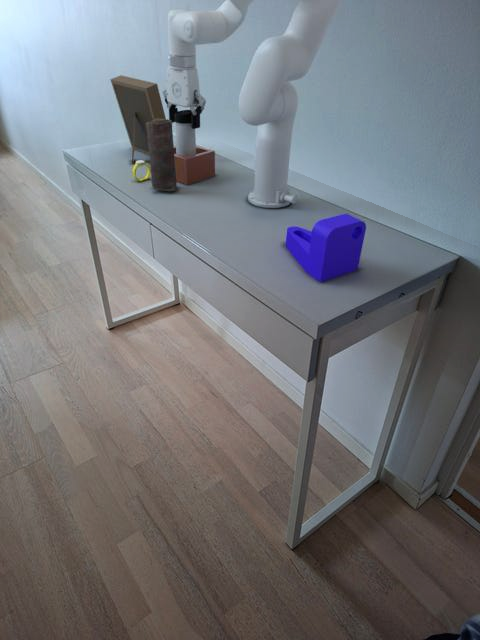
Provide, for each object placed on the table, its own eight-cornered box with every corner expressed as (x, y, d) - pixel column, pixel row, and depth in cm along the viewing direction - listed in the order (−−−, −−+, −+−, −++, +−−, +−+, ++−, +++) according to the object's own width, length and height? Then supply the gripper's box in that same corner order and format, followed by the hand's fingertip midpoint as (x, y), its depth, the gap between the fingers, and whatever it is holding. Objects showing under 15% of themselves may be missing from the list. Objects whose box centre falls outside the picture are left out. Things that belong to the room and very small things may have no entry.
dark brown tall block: (160, 195, 134) (154, 123, 122) (147, 188, 138) (140, 118, 127) (181, 190, 138) (178, 120, 126) (168, 183, 142) (164, 115, 131)
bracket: (357, 269, 101) (367, 219, 94) (320, 281, 96) (328, 230, 89) (305, 238, 113) (311, 192, 106) (270, 248, 108) (273, 200, 101)
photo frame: (141, 146, 175) (134, 74, 161) (175, 160, 163) (171, 82, 148) (107, 153, 167) (96, 77, 152) (140, 167, 154) (132, 86, 140)
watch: (147, 177, 147) (146, 158, 143) (152, 179, 145) (151, 160, 142) (132, 181, 143) (129, 162, 140) (137, 183, 142) (134, 164, 138)
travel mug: (196, 179, 147) (194, 112, 135) (176, 178, 147) (172, 111, 135) (198, 172, 152) (196, 108, 140) (178, 172, 152) (175, 107, 140)
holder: (215, 175, 150) (215, 150, 145) (187, 185, 142) (186, 159, 137) (187, 167, 157) (186, 143, 152) (159, 175, 148) (157, 150, 144)
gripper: (152, 59, 132) (156, 121, 142) (195, 66, 124) (196, 132, 134) (171, 57, 137) (174, 118, 147) (213, 64, 128) (213, 128, 138)
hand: (184, 125), depth 140 cm, fingers open, 9 cm apart
